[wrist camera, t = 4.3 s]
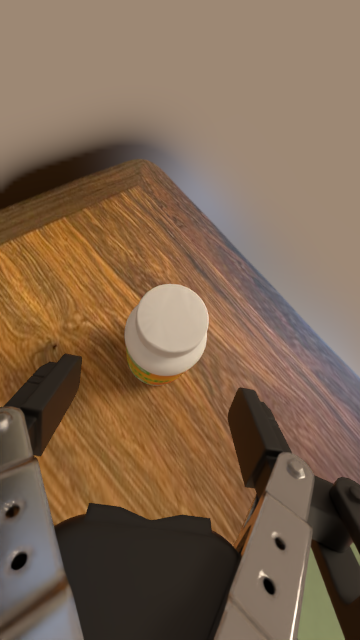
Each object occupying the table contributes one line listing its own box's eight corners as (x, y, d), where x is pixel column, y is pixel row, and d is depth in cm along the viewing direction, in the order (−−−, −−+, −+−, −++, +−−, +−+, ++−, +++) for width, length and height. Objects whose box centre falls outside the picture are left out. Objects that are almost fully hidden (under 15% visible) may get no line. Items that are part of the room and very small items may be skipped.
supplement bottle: (115, 370, 21) (101, 338, 12) (143, 318, 23) (149, 257, 14) (172, 396, 21) (202, 384, 12) (194, 342, 23) (233, 296, 14)
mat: (276, 475, 20) (279, 476, 19) (402, 572, 19) (408, 575, 19) (199, 661, 15) (201, 667, 15) (362, 802, 14) (368, 812, 14)
